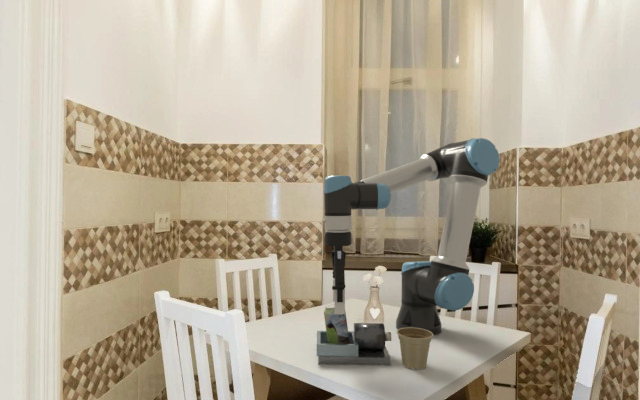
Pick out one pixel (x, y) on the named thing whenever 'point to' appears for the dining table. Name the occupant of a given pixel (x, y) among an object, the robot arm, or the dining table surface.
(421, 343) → the flower pot
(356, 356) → the motor housing
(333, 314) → the beverage can
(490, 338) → the dining table surface
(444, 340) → the dining table surface
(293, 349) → the dining table surface
